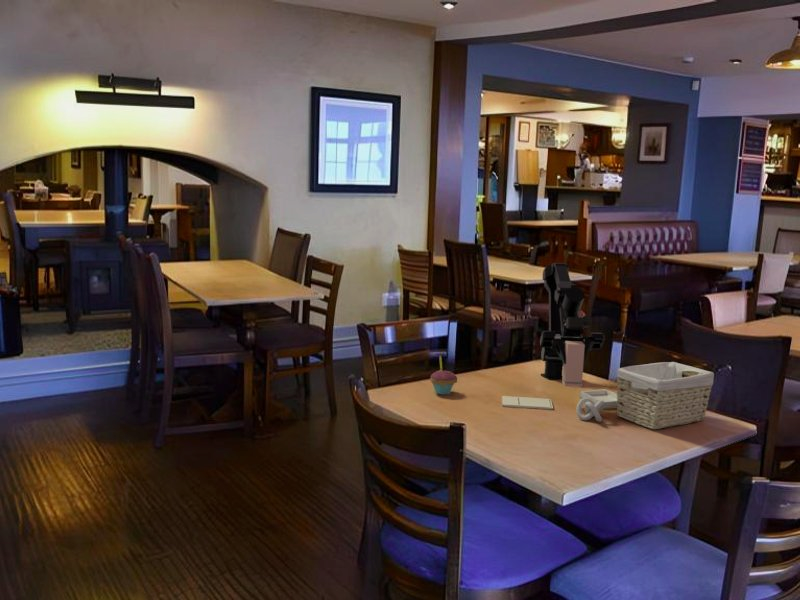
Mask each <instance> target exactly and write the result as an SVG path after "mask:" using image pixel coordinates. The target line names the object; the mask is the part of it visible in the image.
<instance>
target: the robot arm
mask: <svg viewBox="0 0 800 600" xmlns="http://www.w3.org/2000/svg"><path fill="white" fill-rule="evenodd" d="M542 281H543V285H544V288H545V290H546V291H547V293H548V329H549V330H543V331H542V332H541V336H540V340H539V346H540V348H541V352H540V354H541V355H540V358H541V360H542V361H543V362H544V373H540V376H541V377H544V378H545V379H547V380H550V381H551V380H562V378H563V364H566V355H565V350H564V349H565V341H582V342H583V343H584V345H585V348H584V362H583V366H585V364H586V358H587V354H588V352H591V351H592V350H601V349H602V348H603V345H604V344H605V343H604V342H605V341H606V339H605V334H604V333H602V332H590V334H589V336H582V335H583V333H584V329H585V328H589V327H590V326H591V320H590V319H591V318H590V316H589V315H583V316H582V317H580V313H579V311H581V308H582V306H583V303H584V299H585V297H586V296H585V292H584V290H582V289H581V288H580V287H578V285H577V284H575V283H573V282H572V281H571V278H570V268H569V267H568V264H567V263H565V262H554V263H552V264H551V265H548V266H545V267H544V269H543V270H542Z"/></svg>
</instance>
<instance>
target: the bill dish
mask: <svg viewBox="0 0 800 600" xmlns="http://www.w3.org/2000/svg"><path fill="white" fill-rule="evenodd" d="M578 398H579V399H580V400H581V399H583V398H590V399H592V400H593V401H594V403H595V405H596V403H597V402H599V401H601V400H602V401H604V402H605V405H604V407H603V409H602V410H606V409H607V410H609V409H617V392H613V391H611V390H610V389H608V388H607V389H606V388H605V389H604V388H603V389H593V390H581V391H579V397H578Z"/></svg>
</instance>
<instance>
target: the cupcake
mask: <svg viewBox="0 0 800 600" xmlns="http://www.w3.org/2000/svg"><path fill="white" fill-rule="evenodd" d="M442 360H443V359H442V356H441V355H439V370H436V371H435V372H433V373H431V375H430V382H431V383H432V386H433V388H434V391H435V392H434V393H436V394H437V395H443V396H444V395H449V394H451V392H452V389H453V386H454V385H455V384H456V383H457V382H458V377H457V375H456V374H455V373H453V372H452V371H449V370H443V361H442Z"/></svg>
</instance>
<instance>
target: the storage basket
mask: <svg viewBox="0 0 800 600" xmlns="http://www.w3.org/2000/svg"><path fill="white" fill-rule="evenodd" d="M683 375H684V377H683ZM616 377H617V378H616V384H617V385H616V387H617V391H616V394H617V408H616V410H617V411H616V414H617V416H618V417H620V418H623V419H624V420H628V421H629V422H632V423H635V424H637V425H640V426H642V427H645V428H649V429H650V430H659V429H664V428H669V427H674V426H680V425H687V424H689V423H690V424H692V423H693V422H699V421H704V420H705V417H706V411H707V409H708V404H709V400H710V395H711V391H712V390H711V389H712V387H713V386H714V385H713V384H714V378H715V373H714V372H713V371H709V370H705V369H702V368H698V367H695V366H691V365H687V364H683V363H678V362H675V361H671V362H670V361H669V362H668V361H666V362H665V361H663V362H654V363H648V364H639V365H638V364H637V365H629V366H624V367H619V368H618V369H617V372H616Z"/></svg>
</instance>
